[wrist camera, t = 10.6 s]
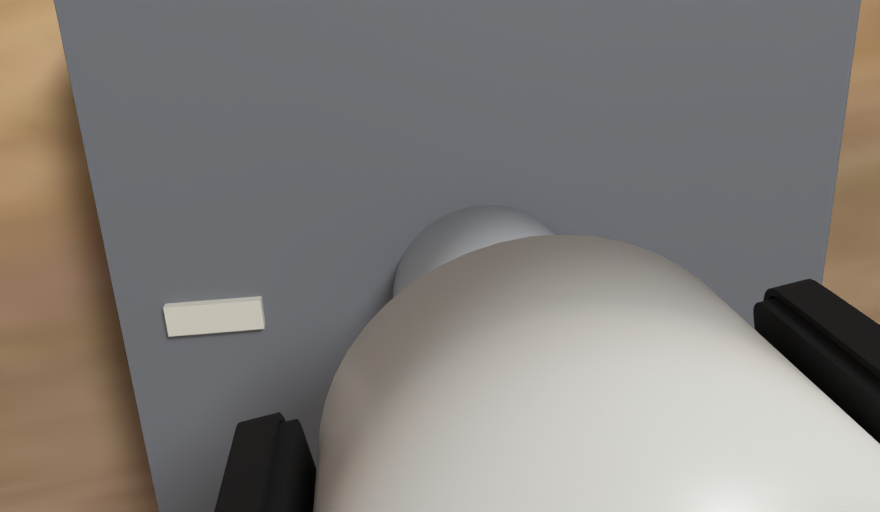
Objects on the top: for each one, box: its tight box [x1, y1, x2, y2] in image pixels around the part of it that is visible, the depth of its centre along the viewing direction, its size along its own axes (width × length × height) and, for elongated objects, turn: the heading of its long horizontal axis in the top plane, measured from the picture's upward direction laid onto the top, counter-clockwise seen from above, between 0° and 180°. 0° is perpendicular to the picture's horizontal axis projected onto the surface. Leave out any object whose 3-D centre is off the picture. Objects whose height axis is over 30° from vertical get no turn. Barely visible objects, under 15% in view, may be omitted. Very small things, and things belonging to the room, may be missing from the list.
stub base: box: [54, 0, 861, 512], centre depth 15 cm, size 14×12×8 cm
